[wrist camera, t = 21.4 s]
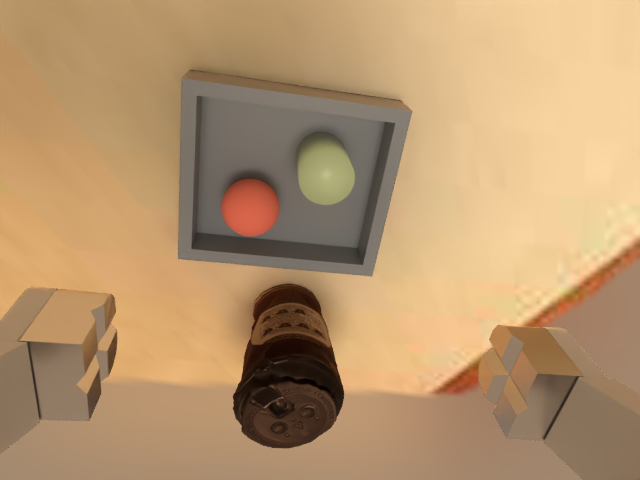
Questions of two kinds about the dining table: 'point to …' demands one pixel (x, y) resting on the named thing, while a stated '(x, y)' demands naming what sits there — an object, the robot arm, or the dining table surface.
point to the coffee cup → (288, 372)
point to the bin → (284, 171)
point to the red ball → (250, 207)
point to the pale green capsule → (324, 169)
